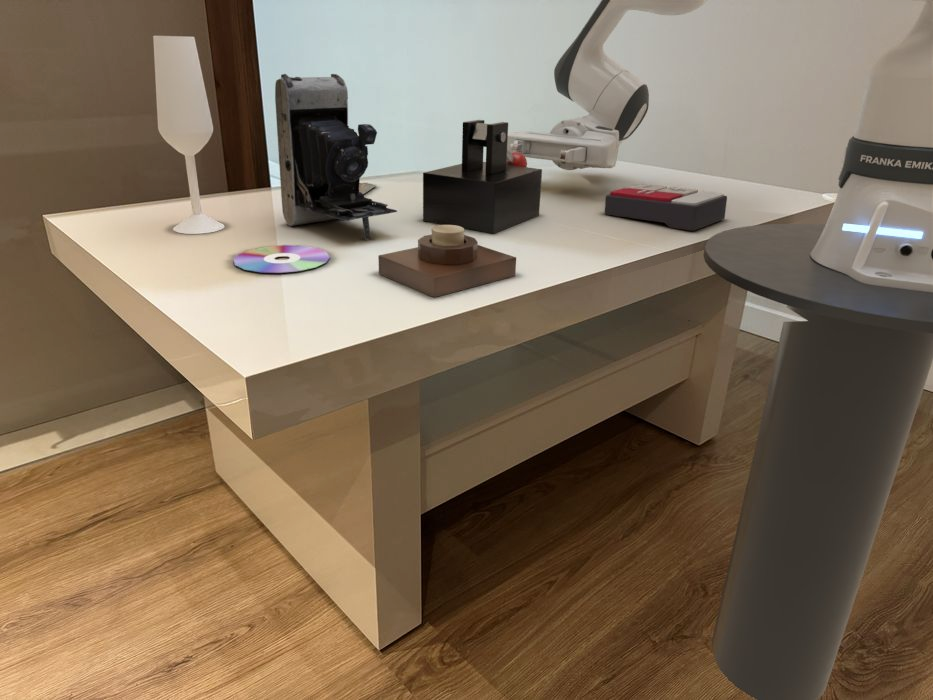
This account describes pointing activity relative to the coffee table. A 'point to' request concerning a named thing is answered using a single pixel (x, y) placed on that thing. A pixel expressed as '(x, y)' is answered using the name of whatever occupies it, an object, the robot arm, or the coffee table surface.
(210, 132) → the champagne flute
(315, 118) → the vintage camera
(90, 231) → the coffee table surface
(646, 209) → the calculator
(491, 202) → the lever stand
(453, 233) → the timer button
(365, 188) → the map
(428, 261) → the block
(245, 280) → the coffee table surface
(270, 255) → the cd
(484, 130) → the red-knobbed metal lever
